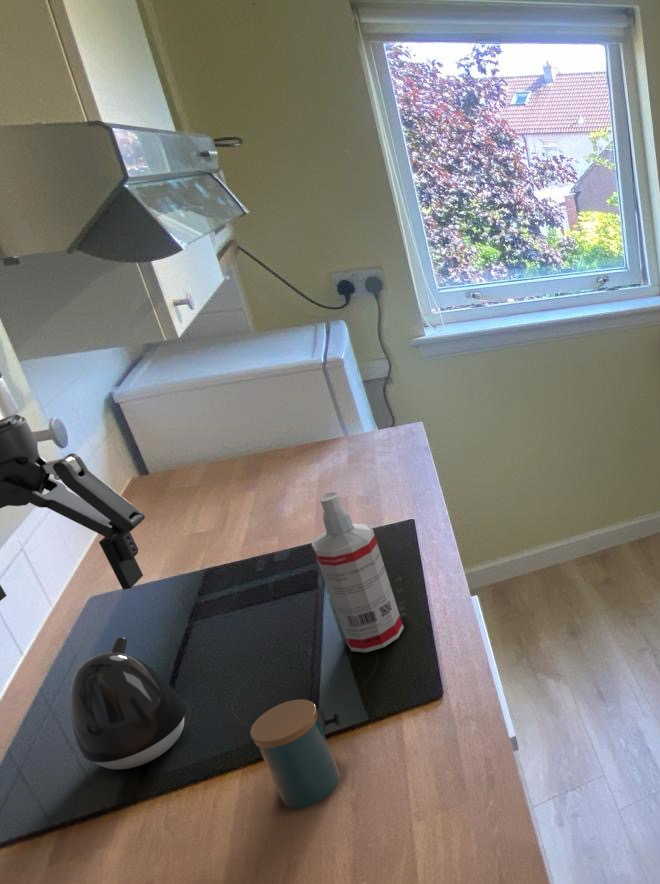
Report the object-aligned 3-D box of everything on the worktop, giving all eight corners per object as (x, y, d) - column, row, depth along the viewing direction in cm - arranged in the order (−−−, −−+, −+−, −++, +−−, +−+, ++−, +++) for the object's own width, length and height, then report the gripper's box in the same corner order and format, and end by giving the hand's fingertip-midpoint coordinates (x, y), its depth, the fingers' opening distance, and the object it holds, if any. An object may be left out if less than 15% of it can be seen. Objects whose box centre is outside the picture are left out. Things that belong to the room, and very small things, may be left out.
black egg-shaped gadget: (208, 710, 100) (166, 621, 94) (176, 769, 91) (127, 675, 85) (119, 730, 98) (69, 640, 91) (77, 793, 89) (18, 698, 82)
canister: (277, 819, 85) (245, 750, 80) (285, 778, 90) (255, 710, 85) (340, 797, 87) (312, 728, 82) (344, 758, 92) (318, 692, 88)
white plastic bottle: (410, 636, 114) (366, 495, 103) (357, 660, 109) (306, 515, 99) (393, 614, 119) (349, 478, 108) (342, 636, 114) (291, 496, 104)
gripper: (132, 397, 82) (203, 556, 90) (-145, 426, 76) (-41, 592, 85) (91, 423, 75) (172, 592, 84) (-216, 456, 70) (-95, 633, 79)
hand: (65, 593), depth 85 cm, fingers open, 13 cm apart
